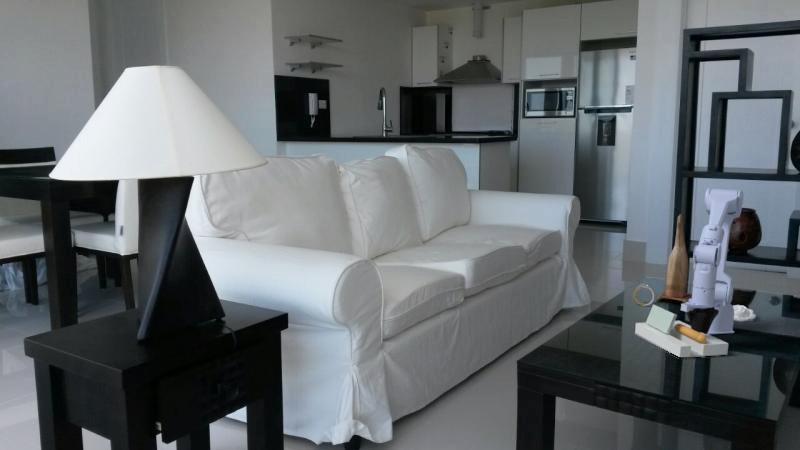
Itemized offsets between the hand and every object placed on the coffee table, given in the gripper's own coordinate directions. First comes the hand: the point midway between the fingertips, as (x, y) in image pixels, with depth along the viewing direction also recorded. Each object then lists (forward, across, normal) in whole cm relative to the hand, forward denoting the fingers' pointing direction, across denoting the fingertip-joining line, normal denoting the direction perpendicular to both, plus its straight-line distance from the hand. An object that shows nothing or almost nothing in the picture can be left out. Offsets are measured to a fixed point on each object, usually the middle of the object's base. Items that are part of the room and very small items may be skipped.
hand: (699, 333), depth 181 cm
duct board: (+4, +2, -5) cm, 7 cm away
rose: (+4, -39, -17) cm, 43 cm away
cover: (-2, +4, -9) cm, 11 cm away
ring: (+4, -19, -39) cm, 44 cm away
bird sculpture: (+4, -35, -39) cm, 52 cm away
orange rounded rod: (0, +3, -1) cm, 3 cm away
